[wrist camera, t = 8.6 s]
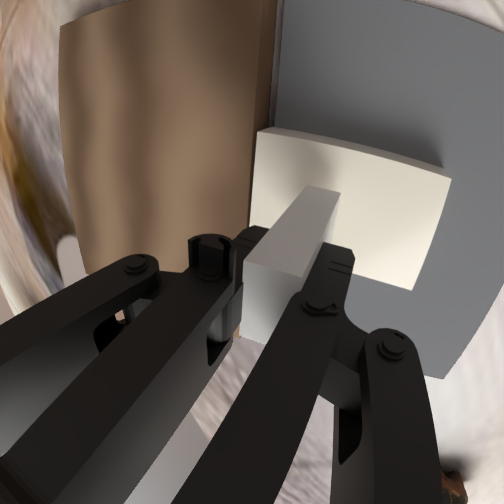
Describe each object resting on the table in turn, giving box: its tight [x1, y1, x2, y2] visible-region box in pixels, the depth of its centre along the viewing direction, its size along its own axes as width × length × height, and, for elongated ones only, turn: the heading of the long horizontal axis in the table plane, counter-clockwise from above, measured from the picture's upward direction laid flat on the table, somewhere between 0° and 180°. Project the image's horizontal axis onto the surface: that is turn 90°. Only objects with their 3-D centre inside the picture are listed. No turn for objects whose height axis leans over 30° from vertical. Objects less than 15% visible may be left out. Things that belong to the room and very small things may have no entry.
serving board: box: [58, 0, 278, 339], centre depth 19 cm, size 16×22×2 cm
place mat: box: [274, 0, 504, 379], centre depth 15 cm, size 15×22×1 cm
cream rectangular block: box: [249, 127, 452, 290], centre depth 15 cm, size 9×6×2 cm, turn 86°
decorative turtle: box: [440, 467, 468, 504], centre depth 22 cm, size 10×15×8 cm, turn 73°
